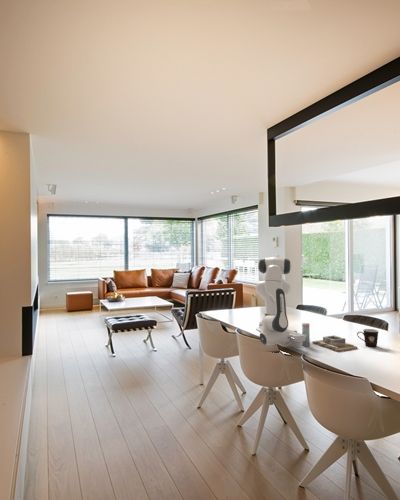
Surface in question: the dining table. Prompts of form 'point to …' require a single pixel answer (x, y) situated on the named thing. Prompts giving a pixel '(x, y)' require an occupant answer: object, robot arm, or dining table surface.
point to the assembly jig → (335, 343)
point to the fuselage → (306, 331)
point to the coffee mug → (370, 337)
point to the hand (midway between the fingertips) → (301, 333)
